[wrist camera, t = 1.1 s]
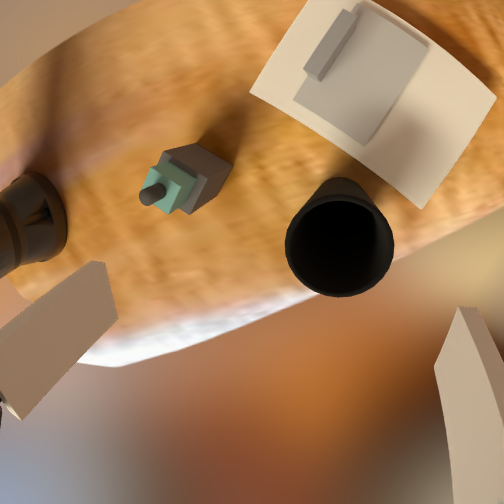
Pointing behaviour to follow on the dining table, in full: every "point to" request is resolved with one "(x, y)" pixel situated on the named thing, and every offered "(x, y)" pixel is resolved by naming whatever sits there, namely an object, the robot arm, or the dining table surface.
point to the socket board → (401, 112)
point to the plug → (184, 179)
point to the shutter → (358, 71)
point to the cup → (339, 241)
